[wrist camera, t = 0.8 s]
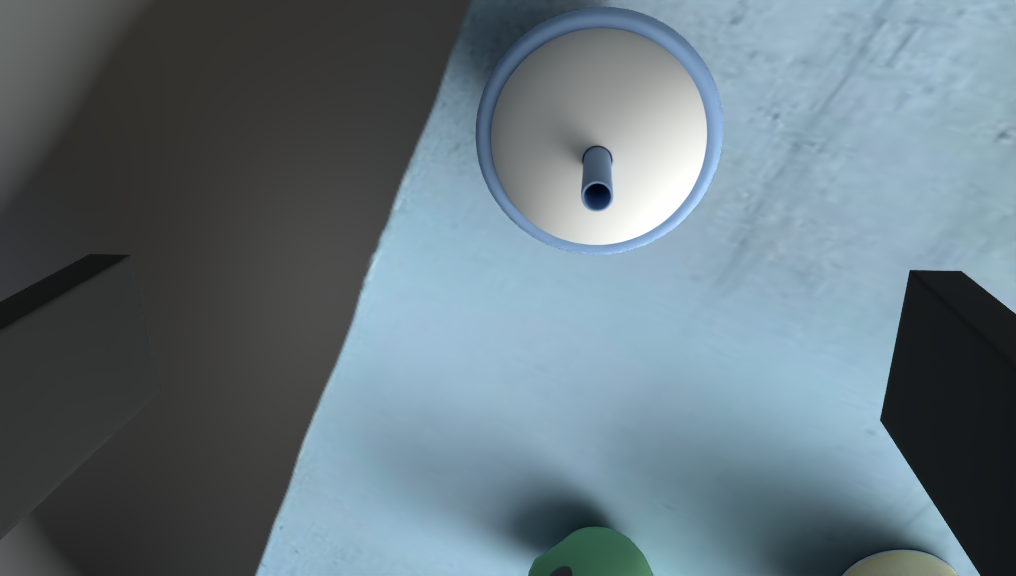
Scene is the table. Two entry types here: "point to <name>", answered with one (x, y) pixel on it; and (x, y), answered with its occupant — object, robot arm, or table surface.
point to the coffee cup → (900, 565)
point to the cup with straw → (599, 130)
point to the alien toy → (592, 556)
